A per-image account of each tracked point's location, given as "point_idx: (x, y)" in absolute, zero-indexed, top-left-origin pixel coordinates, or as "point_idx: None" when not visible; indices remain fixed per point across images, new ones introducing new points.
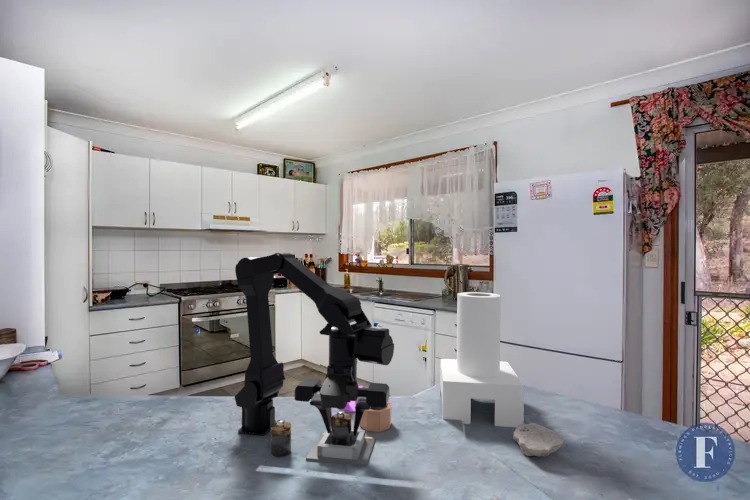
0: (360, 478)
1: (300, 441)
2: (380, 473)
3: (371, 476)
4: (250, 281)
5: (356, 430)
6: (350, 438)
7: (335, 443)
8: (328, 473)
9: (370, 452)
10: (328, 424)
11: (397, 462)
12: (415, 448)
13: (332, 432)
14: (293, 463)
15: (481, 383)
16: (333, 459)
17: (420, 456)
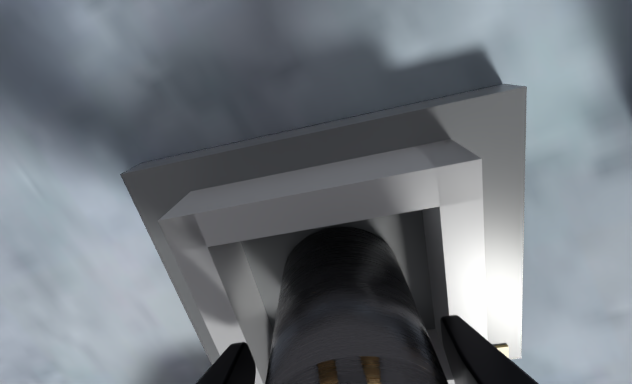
0: (126, 81)
1: (618, 279)
2: (68, 165)
3: (89, 123)
4: None
5: (201, 379)
6: (275, 320)
7: (363, 255)
8: (319, 49)
9: (173, 281)
10: (480, 380)
11: (61, 272)
12: (65, 378)
13: (409, 316)
14: (592, 58)
15: None
16: (328, 144)
17: (12, 338)
